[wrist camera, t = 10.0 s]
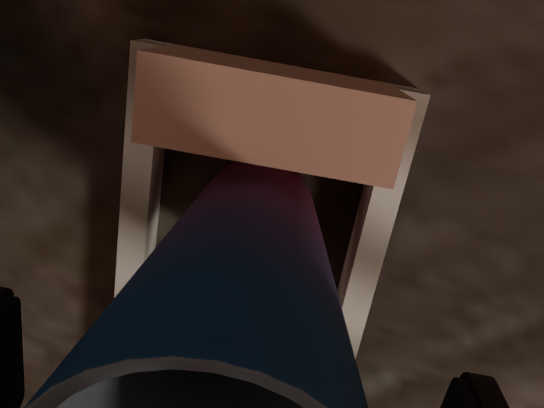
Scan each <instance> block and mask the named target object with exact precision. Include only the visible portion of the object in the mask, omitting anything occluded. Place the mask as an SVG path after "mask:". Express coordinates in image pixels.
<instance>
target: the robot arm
mask: <svg viewBox="0 0 544 408" xmlns="http://www.w3.org/2000/svg"><path fill="white" fill-rule="evenodd" d="M24 391H25V389H24V367H23V346H22V324H21V303H20V299H19V298H18V297H14V293H13V291H12V290H11V289H9V288H4V287H0V408H20V406H21V404H22V401H23V398H24ZM440 408H509V406H508V404H507V402H506V400H505V398H504V396H503V394H502V392H501V390H500V388H499V386H498V384H497V382H496V380H495V379H494V378H493V377H491V376H485V375H480V374H474V373H469V372H464V373H462V374H461V376H460V378H457V377H454V378H453V379H452V381H451V383H450V385H449V388H448V390H447V392H446V395H445V397H444V400H443V402H442V405H441V407H440Z"/></svg>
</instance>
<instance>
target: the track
mask: <svg viewBox="0 0 544 408" xmlns="http://www.w3.org/2000/svg"><path fill="white" fill-rule="evenodd" d="M429 99H430V95H429V94H427V93H426V92H424V91H422V90H420V89H418V88H413V87H407V86H402V85H396V84H391V83H385V82H380V81H374V80H369V79H363V78H358V77H352V76H347V75H341V74H336V73H330V72H325V71H320V70H314V69H309V68H303V67H298V66H292V65H287V64H281V63H276V62H270V61H265V60H259V59H254V58H248V57H243V56H237V55H232V54H226V53H221V52H216V51H210V50H205V49H199V48H194V47H188V46H183V45H177V44H172V43H166V42H161V41H155V40H150V39H139V40H130V56H129V72H128V87H127V103H126V119H125V134H124V150H123V166H122V182H121V197H120V213H119V229H118V244H117V260H116V276H115V292H114V298H115V297H116V295H117V294H118V293H119V292H120V291H121V289H122V288H123V287H124V286H125V284H126V283H127V282H128V281H129V280H130V278H131V277H132V276H133V275H134V274H135V272H136V271H137V270H138V269H139V267H140V266H141V265H142V264H143V263H144V261H145V260H146V259H147V258H148V256H149V255H150V254H151V253H152V252H153V250H154V249H155V248H156V240H157V229H158V219H159V208H160V198H161V187H162V177H163V166H164V156H165V148H166V149H171V150H177V151H182V152H188V153H194V154H199V155H205V156H210V157H216V158H221V159H227V160H232V161H238V162H244V163H249V164H255V165H260V166H266V167H271V168H277V169H282V170H288V171H294V172H299V173H305V174H310V175H316V176H321V177H327V178H332V179H338V180H343V181H349V182H355V183H360V184H364V187H363V191H362V195H361V199H360V203H359V207H358V211H357V215H356V219H355V223H354V227H353V230H352V234H351V238H350V242H349V246H348V250H347V254H346V258H345V262H344V266H343V270H342V274H341V278H340V282H339V286H338V290H337V292H338V296H339V300H340V304H341V307H342V311H343V315H344V319H345V322H346V326H347V330H348V334H349V337H350V341H351V345H352V349H353V353H354V356H355V359H356V355H357V352H358V348H359V345H360V341H361V338H362V334H363V331H364V327H365V324H366V320H367V317H368V313H369V309H370V306H371V302H372V299H373V295H374V292H375V288H376V285H377V281H378V278H379V274H380V271H381V267H382V264H383V260H384V257H385V253H386V250H387V246H388V243H389V239H390V236H391V232H392V229H393V225H394V222H395V218H396V215H397V211H398V208H399V204H400V201H401V197H402V194H403V190H404V186H405V183H406V179H407V176H408V172H409V169H410V165H411V162H412V158H413V155H414V151H415V148H416V144H417V141H418V137H419V134H420V130H421V127H422V123H423V120H424V116H425V113H426V109H427V106H428V102H429Z"/></svg>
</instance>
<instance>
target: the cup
mask: <svg viewBox="0 0 544 408" xmlns="http://www.w3.org/2000/svg"><path fill="white" fill-rule="evenodd" d="M24 408H368V405H367V401H366V398H365V394H364V390H363V386H362V383H361V379H360V375H359V371H358V368H357V364H356V360H355V356H354V353H353V349H352V345H351V341H350V337H349V334H348V330H347V326H346V322H345V319H344V315H343V311H342V307H341V304H340V300H339V296H338V292H337V289H336V285H335V281H334V277H333V274H332V270H331V266H330V262H329V259H328V255H327V251H326V247H325V244H324V240H323V236H322V232H321V229H320V225H319V221H318V217H317V214H316V210H315V206H314V202H313V198H312V195H311V192H310V189H309V187H308V185H307V184H306V182H305V180H304V179H303V177H302V176H301V175H300V174H299V173H298V172H294V171H288V170H282V169H277V168H271V167H266V166H260V165H255V164H249V163H244V162H238V161H233V162H231V163H229V164H227V165H226V166H224V167H223V168H222V169H221V170H220V171H219V172H218V173H217V174H216V175H215V176H214V177H213V179H212V180H211V181H210V182H209V183H208V185H207V186H206V187H205V188H204V190H203V191H202V192H201V193H200V194H199V196H198V197H197V198H196V199H195V201H194V202H193V203H192V204H191V205H190V207H189V208H188V209H187V210H186V211H185V213H184V214H183V215H182V216H181V218H180V219H179V220H178V221H177V222H176V224H175V225H174V226H173V227H172V229H171V230H170V231H169V232H168V233H167V235H166V236H165V237H164V238H163V239H162V241H161V242H160V243H159V244H158V246H157V247H156V248H155V249H154V250H153V252H152V253H151V254H150V255H149V256H148V258H147V259H146V260H145V261H144V263H143V264H142V265H141V266H140V267H139V269H138V270H137V271H136V272H135V274H134V275H133V276H132V277H131V278H130V280H129V281H128V282H127V283H126V284H125V286H124V287H123V288H122V289H121V291H120V292H119V293H118V294H117V295H116V297H115V298H114V299H113V300H112V302H111V303H110V304H109V305H108V306H107V308H106V309H105V310H104V311H103V312H102V314H101V315H100V316H99V317H98V319H97V320H96V321H95V322H94V323H93V325H92V326H91V327H90V328H89V329H88V331H87V332H86V333H85V334H84V336H83V337H82V338H81V339H80V340H79V342H78V343H77V344H76V345H75V347H74V348H73V349H72V350H71V351H70V353H69V354H68V355H67V356H66V357H65V359H64V360H63V361H62V362H61V364H60V365H59V366H58V367H57V368H56V370H55V371H54V372H53V373H52V375H51V376H50V377H49V378H48V379H47V381H46V382H45V383H44V384H43V385H42V387H41V388H40V389H39V390H38V392H37V393H36V394H35V395H34V396H33V398H32V399H31V400H30V401H29V402H28V404H27V405H26V406H25V407H24Z"/></svg>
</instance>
